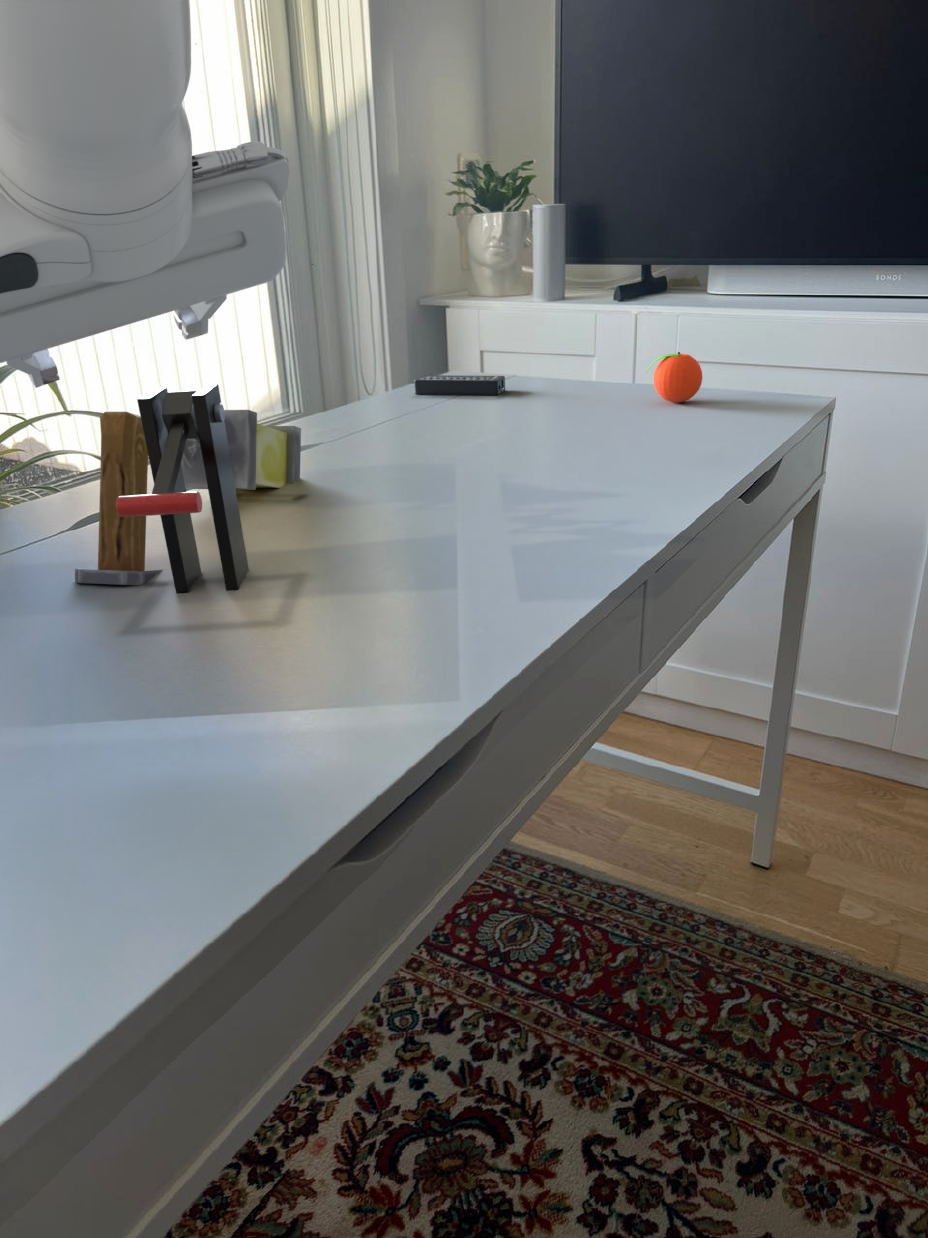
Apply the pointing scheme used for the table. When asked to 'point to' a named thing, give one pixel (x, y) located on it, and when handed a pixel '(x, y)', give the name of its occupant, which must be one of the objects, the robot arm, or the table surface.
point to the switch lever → (168, 465)
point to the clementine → (677, 377)
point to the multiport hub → (459, 385)
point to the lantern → (124, 469)
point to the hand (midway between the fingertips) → (119, 350)
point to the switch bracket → (219, 489)
